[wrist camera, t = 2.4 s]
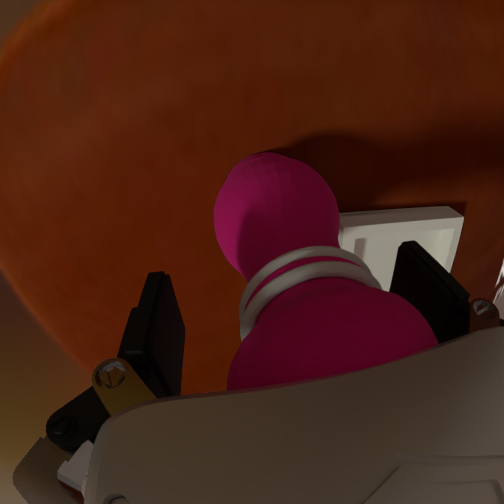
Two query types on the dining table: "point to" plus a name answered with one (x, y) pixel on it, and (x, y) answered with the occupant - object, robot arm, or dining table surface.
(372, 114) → the dining table surface
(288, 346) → the pepper mill
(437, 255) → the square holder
